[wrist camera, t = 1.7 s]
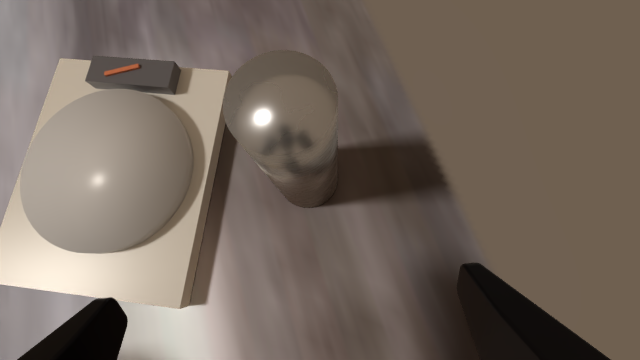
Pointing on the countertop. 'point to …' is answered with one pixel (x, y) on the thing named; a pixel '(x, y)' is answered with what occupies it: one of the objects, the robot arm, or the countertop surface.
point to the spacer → (287, 123)
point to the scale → (117, 182)
